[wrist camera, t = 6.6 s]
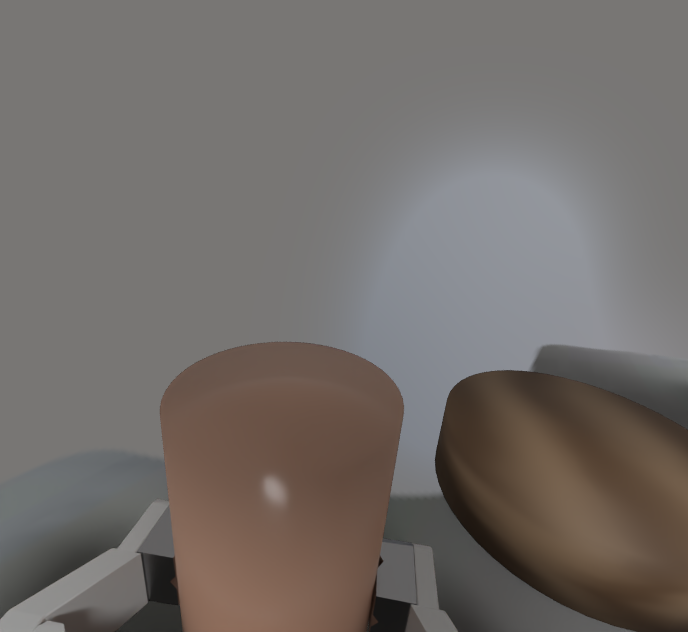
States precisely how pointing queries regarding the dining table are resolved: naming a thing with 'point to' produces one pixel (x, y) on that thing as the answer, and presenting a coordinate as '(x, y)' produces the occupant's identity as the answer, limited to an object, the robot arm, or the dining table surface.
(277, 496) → the smooth tan cylinder
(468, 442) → the walnut stand
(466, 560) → the dining table surface
